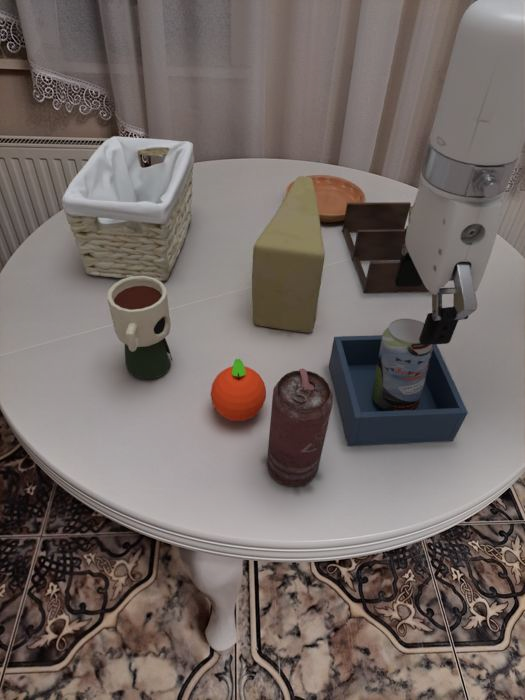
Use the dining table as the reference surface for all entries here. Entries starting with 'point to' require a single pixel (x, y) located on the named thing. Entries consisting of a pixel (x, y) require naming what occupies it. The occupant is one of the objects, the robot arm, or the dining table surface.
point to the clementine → (238, 392)
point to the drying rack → (378, 243)
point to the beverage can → (401, 366)
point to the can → (298, 426)
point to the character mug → (142, 324)
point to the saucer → (334, 196)
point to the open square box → (391, 426)
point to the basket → (131, 207)
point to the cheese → (289, 263)
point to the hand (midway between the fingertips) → (419, 312)
